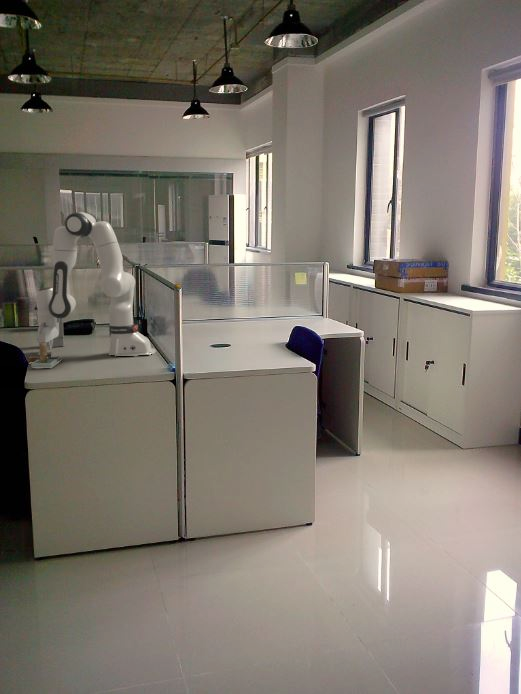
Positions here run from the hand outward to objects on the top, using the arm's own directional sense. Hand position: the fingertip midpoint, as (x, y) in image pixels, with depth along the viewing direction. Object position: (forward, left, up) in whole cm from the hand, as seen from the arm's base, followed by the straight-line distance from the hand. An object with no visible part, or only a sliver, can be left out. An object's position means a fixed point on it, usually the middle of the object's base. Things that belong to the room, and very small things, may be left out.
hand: (49, 349), depth 329 cm
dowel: (-7, +28, -2) cm, 28 cm away
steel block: (0, +8, -3) cm, 9 cm away
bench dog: (0, +20, -3) cm, 20 cm away
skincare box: (+4, -21, -3) cm, 21 cm away
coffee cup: (+27, -73, -3) cm, 78 cm away
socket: (-8, +19, -3) cm, 21 cm away
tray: (-7, +28, -3) cm, 29 cm away
